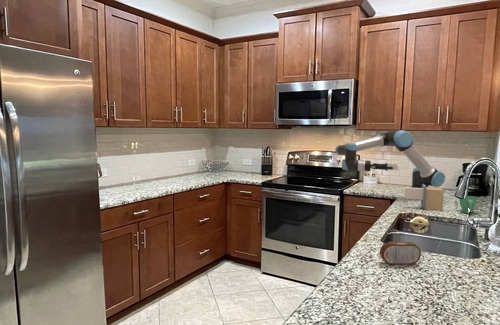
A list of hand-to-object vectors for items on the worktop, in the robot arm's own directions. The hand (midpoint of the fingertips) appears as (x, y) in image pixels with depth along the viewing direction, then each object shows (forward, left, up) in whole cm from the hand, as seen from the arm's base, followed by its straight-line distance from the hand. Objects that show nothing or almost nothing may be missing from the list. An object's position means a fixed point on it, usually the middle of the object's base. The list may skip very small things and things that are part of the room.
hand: (397, 167), depth 225 cm
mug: (-28, +31, -27) cm, 50 cm away
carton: (-18, +14, -27) cm, 36 cm away
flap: (-10, +6, -26) cm, 29 cm away
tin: (+79, +75, -27) cm, 113 cm away
